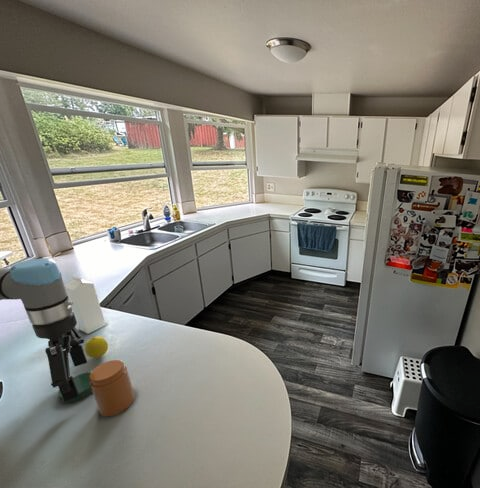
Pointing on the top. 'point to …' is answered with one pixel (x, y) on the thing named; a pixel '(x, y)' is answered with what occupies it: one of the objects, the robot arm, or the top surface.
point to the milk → (85, 305)
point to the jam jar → (111, 387)
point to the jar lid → (80, 387)
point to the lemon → (96, 347)
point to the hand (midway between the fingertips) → (76, 379)
